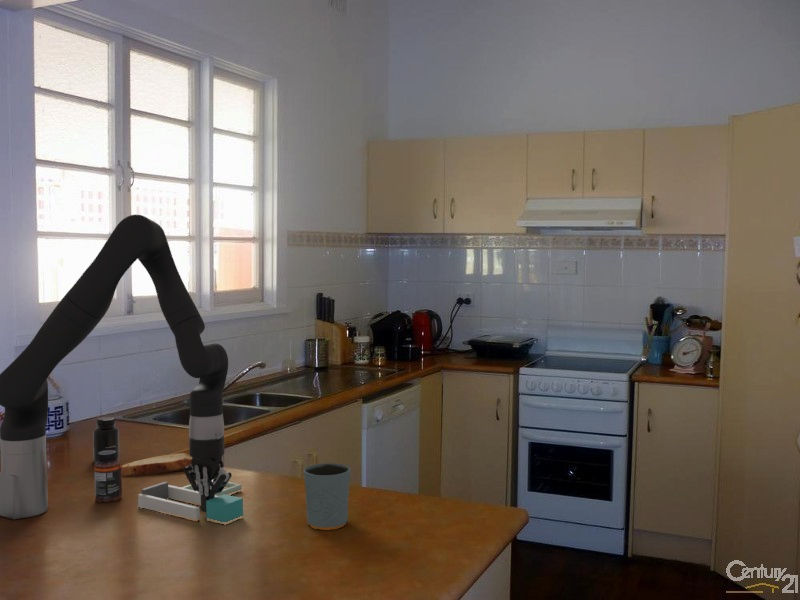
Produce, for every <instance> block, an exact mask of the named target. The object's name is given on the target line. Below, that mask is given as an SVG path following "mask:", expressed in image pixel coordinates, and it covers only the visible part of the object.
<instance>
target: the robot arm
mask: <svg viewBox="0 0 800 600" xmlns="http://www.w3.org/2000/svg"><path fill="white" fill-rule="evenodd" d="M137 260H138V261H139V262H140V264H141V265H142V267H144V269H145V270H146V272H147V273H148V275H149V276H150V278H151V280H152V283H153V285H154V286H153V287H154V288H155V292H156V295H157V299H158V303H159V304H158V305H159V307H160V310H161V312H162V314H163V317H164V319H165V320H166V323H167V324H168V326H169V329H170V330H171V332H172V334H173V335H174V341H175V345H176V349H177V354H178V358H179V362H180V365H181V367H182V368H183V369H184V371H185V372H186V374H188V375H189V376H190V377H192V378H193V379H194V378H195V379H199V380H198V381H199V382H198V384H197V386H196V387H194V388H193V389H192V390H191V391H190V394H189V421H188V422H189V423H188V439H189V441H188V442H189V445H188V446H189V447H188V448H189V453H188V454H190V456H191V457H192V460H191V464H190V465H189V466H187V467H184V470H183V472H184V475H185V476H186V478H187V480H188V482H189V485H190V484H191V486H192V488H193V490H194V491H198V492H199V494H200V495H201V507H200V508H201V512H204V513H207V511H206V501H207V500H210V499H212V498H215V494H217V493H220V492H222V490H223V489H224V487H225V486H226V484H227V483H228V482H230V480H231V478H232V477H233V474H232V473H231V471H229V472H227V471H226V469H225V468H224V467H225V466H224V462H223V461H224V460H223V455H224V454H225V422H224V421H225V420H224V413H223V412H224V411H223V410H224V409H223V408H224V406H223V402H224V401H223V393H224V390H225V386H226V381H227V377H228V376H227V375H228V371H229V355H228V353H227V351H226V349H225V348H224V346H222V344H220V343H216V342H210V343H203V341H202V337H201V334H203V332H204V331H205V328H206V326H205V322H204V320H203V318H202V316H201V314H200V312H199V310H198V308H197V306H196V303H195V302H194V300H193V299H192V296H191V295H190V293H189V291H188V288H187V287H186V286H185V284H184V282H183V281H184V280H182V276H181V275H180V272H179V270H178V267H177V265H176V263H175V261H174V257H173V253H172V252H171V248H170V246H169V241H168V238H167V236H166V233H165V231H164V229H163V228H162V226H161V225H160V224H159V223H157V222H156V221H154V220H152V219H150V218H148V217H147V216H144V215H141V214H131V215H128V216H126V217H124V218H123V219H122V220H120V221H119V222H118V224H117V225H116V226H115V227H114V229H113V230H112V231H111V233H110V236H109V237H108V239H107V240H106V241H105V243H104V245H103V246H102V248H101V249H100V251H99V253H98V254H97V255H96V256H95V258H94V259H93V261H92V262H91V263H90V264H89V266H88V267H87V268H86V269H85V271H84V272H83V273H82V274H81V276H80V277H79V278H78V279H77V280H76V281H75V283H74V284H73V285H72V287H71V288H70V289H69V290H68V291H67V292H66V294H65V295H64V296H63V297H62V299H60V301H58V303H57V305H56V306H55V307H54V309H53V310H52V311H51V313H50V314H49V316H48V317H47V318H46V319H45V321H44V322H43V324H42V325H41V327H40V328H39V330H38V331H37V332H36V334H35V336H34V337H33V338H32V340H31V341H30V342H29V344H28V345H27V346H26V347H25V349H24V350H22V352H21V353H20V354H19V355H18V356H17V357H16V358H15V359H14V360H13V361H12V362H11V363H10V364H9V365H8V366H7V367H6V368H5V369H4V370H2V372H0V406H1V407H3V408H4V415H3V419H2V421H1V424H0V517H5V518H7V519H10V520H17V519H18V520H19V519H24V518H30V517H31V518H32V517H35V516H39V515H41V514H42V515H43V514H44V513H45V512H47V511H48V509H49V506H48V505H49V504H48V503H49V501H48V473H47V472H48V468H47V467H48V465H47V461H48V460H47V435H46V434H47V433H46V431H47V430H46V429H47V422H48V418H49V383H48V378H49V376H50V375H51V374H52V372H53V371H54V370H55V368H56V367H58V366H57V365H58V364H59V363H60V362H62V361H63V360H64V358H66V357H67V356H68V355H69V354H71V352H73V351H74V350H75V349H76V348H77V347H78V346H79V345H80V344H81V343H82V342H83V341H84V340H85V339H87V337H88V336H89V335H90V334H91V333H92V332H93V330H94V329H95V328H96V327H97V326H98V324H99V323H100V322H101V321H102V319H103V318H104V317H105V315H106V314H107V312H108V311H109V308H110V306H111V305H112V301H113V299H114V296H115V292H116V289H117V287H118V285H119V282H120V280H121V279H122V277H124V275H125V274H126V272H127V271H129V269H130V267H131V266H132V265H133V264H134V263H135V262H136V261H137ZM196 482H197V484H196Z"/></svg>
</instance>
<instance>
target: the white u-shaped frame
mask: <svg viewBox="0 0 800 600" xmlns="http://www.w3.org/2000/svg"><path fill="white" fill-rule="evenodd" d="M215 497H218V496H216V495H215ZM167 498H172V499H177V500H182V501H188V502H192V503H198V504H201V495H200V494H199V492H198V491H194V490H190V489H185V488H181V487H180V486H176V485H173V484H172V485H171V484H169V482H168V481H162V482H160V483H156V484H154V485H151V486H147V487H144V488H141V493H139V494H138V495H137V502H138V503H137V504H138V505H137V506H138V507H140V508H139V509H142V508H146V509H151V510H156V511H162V512H166V513H171V514H175V515H180V516H184V517H188V518H192V519H198V518H200V514H201V513H200V512H201V511H200V506H196V505H192V504H188V503H183V502H179V501H175V500H171V499H167ZM166 499H167V500H166ZM138 507H137V508H138ZM146 509H145V510H146ZM200 519H201V518H200Z"/></svg>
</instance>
